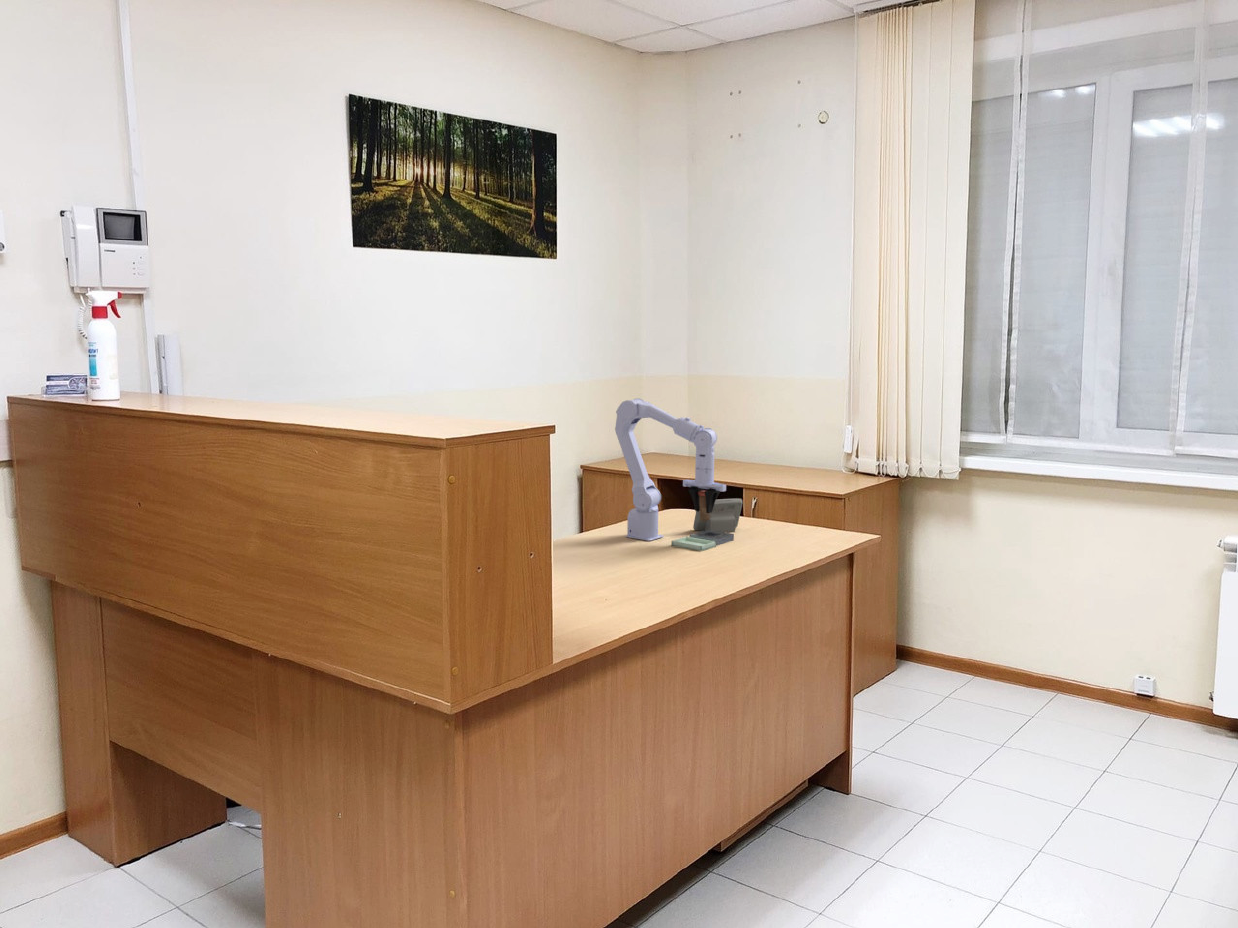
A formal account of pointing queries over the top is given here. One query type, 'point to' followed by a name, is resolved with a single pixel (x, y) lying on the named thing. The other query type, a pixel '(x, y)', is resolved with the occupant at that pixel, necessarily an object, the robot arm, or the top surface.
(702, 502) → the pin
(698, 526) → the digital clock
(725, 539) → the socket plate
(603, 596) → the top surface
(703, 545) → the tray
